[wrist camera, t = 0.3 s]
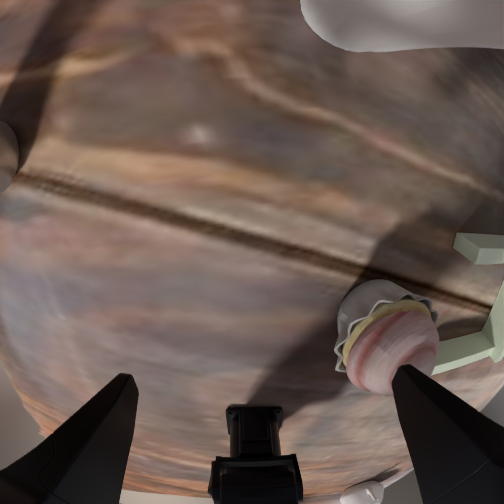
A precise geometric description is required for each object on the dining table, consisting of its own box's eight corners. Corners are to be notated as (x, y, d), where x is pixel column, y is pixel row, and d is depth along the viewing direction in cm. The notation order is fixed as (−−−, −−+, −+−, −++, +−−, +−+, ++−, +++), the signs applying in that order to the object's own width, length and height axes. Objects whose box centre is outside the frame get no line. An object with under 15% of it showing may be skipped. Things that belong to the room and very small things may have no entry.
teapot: (347, 481, 47) (354, 514, 38) (392, 468, 47) (401, 499, 38) (332, 498, 55) (337, 524, 46) (370, 489, 56) (377, 514, 46)
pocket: (483, 337, 27) (501, 360, 23) (412, 355, 27) (430, 386, 22) (522, 236, 21) (549, 254, 16) (456, 232, 20) (490, 256, 16)
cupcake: (298, 327, 24) (321, 425, 15) (367, 242, 21) (436, 321, 11) (367, 356, 26) (400, 434, 17) (428, 289, 23) (486, 358, 14)
